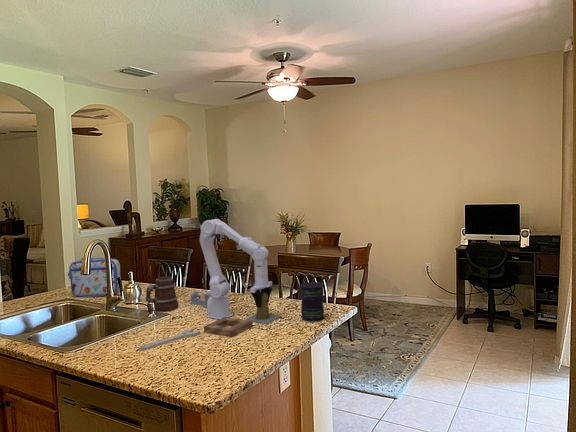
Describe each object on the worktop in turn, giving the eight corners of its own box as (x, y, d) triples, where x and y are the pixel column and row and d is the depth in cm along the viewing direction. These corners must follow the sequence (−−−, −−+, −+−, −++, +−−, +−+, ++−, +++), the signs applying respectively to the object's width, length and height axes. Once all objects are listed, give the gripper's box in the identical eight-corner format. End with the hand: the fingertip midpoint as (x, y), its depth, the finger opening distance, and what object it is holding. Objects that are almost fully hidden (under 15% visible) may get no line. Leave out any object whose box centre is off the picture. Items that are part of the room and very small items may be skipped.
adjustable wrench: (140, 353, 155) (140, 348, 154) (133, 348, 159) (133, 343, 159) (202, 335, 171) (202, 330, 171) (194, 331, 176) (194, 327, 176)
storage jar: (309, 313, 194) (308, 281, 193) (328, 317, 188) (327, 283, 187) (297, 319, 186) (295, 285, 185) (316, 323, 180) (315, 288, 179)
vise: (222, 304, 216) (221, 291, 215) (205, 308, 208) (204, 295, 208) (201, 298, 228) (200, 286, 228) (184, 303, 220) (183, 290, 220)
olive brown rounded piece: (255, 316, 191) (254, 291, 190) (268, 315, 192) (268, 290, 192) (256, 320, 185) (255, 295, 185) (270, 318, 186) (269, 294, 186)
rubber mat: (243, 320, 187) (243, 319, 187) (258, 313, 197) (258, 312, 197) (267, 324, 181) (267, 323, 181) (281, 316, 191) (281, 315, 191)
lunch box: (66, 298, 237) (63, 259, 236) (74, 294, 248) (72, 256, 246) (117, 296, 239) (114, 257, 237) (123, 292, 249) (121, 254, 248)
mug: (171, 303, 219) (169, 274, 218) (182, 308, 210) (181, 278, 209) (141, 310, 209) (139, 280, 208) (152, 315, 200) (150, 283, 199)
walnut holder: (204, 332, 173) (203, 326, 173) (225, 322, 185) (225, 316, 185) (232, 337, 166) (231, 331, 166) (252, 326, 178) (252, 320, 178)
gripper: (259, 278, 179) (260, 310, 180) (277, 272, 192) (278, 302, 193) (245, 277, 183) (247, 308, 184) (264, 271, 195) (265, 300, 196)
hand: (262, 305), depth 188 cm, fingers closed on olive brown rounded piece, 5 cm apart
